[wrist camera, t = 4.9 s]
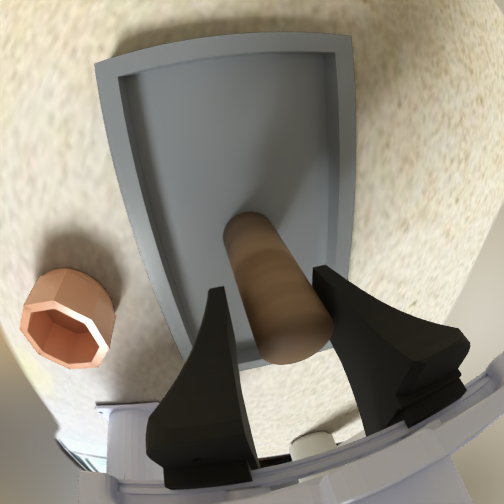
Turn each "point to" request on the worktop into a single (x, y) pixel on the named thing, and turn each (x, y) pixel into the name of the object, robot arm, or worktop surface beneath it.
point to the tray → (232, 160)
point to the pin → (275, 292)
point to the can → (312, 448)
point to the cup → (69, 319)
